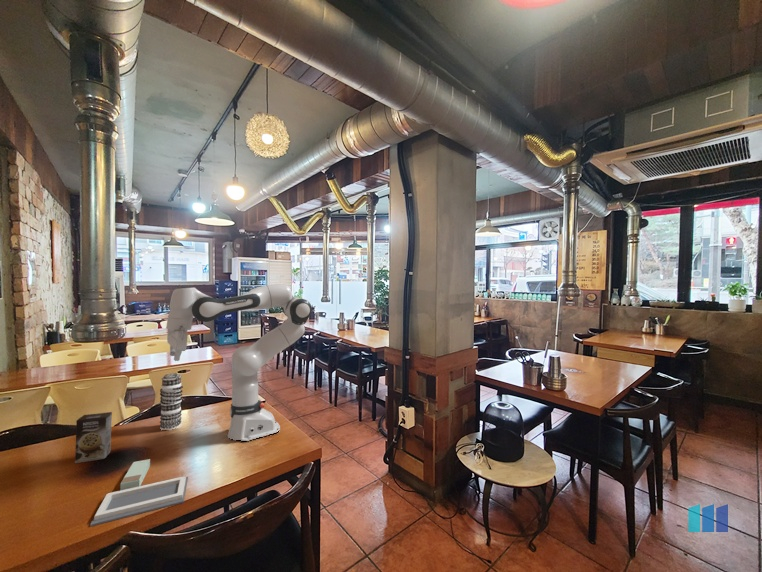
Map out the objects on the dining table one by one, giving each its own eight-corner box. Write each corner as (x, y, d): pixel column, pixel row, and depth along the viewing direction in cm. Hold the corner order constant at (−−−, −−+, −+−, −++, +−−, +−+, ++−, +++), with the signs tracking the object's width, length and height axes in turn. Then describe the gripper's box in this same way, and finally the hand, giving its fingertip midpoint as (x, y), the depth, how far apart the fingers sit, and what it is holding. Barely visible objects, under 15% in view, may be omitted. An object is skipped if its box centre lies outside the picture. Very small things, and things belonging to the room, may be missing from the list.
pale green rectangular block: (149, 467, 116) (150, 458, 116) (139, 489, 103) (139, 479, 103) (133, 470, 114) (133, 461, 114) (120, 493, 101) (120, 483, 101)
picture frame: (187, 478, 109) (187, 473, 109) (183, 502, 96) (183, 497, 96) (106, 496, 99) (106, 491, 99) (90, 526, 86) (90, 520, 86)
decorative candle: (182, 421, 155) (183, 371, 156) (182, 428, 148) (183, 375, 148) (159, 425, 151) (161, 373, 151) (158, 432, 143) (159, 378, 143)
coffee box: (74, 463, 117) (75, 420, 117) (82, 455, 123) (83, 414, 123) (104, 458, 121) (105, 417, 121) (111, 451, 126) (112, 411, 127)
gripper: (193, 328, 124) (188, 363, 124) (183, 322, 139) (178, 353, 139) (175, 327, 120) (169, 364, 119) (166, 321, 135) (161, 353, 134)
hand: (174, 358), depth 129 cm, fingers open, 8 cm apart
